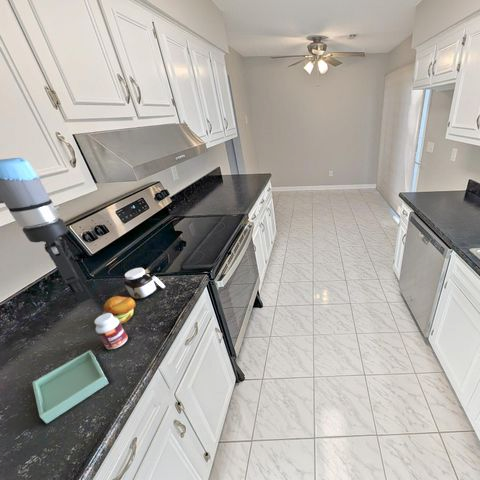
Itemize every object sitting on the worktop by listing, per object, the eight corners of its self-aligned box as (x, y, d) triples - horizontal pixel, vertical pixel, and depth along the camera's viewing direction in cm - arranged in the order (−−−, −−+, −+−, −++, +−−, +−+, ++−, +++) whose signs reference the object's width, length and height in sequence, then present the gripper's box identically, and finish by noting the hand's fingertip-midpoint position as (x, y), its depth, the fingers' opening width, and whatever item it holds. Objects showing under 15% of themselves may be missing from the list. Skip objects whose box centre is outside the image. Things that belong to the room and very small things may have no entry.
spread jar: (128, 298, 107) (116, 276, 102) (151, 282, 117) (141, 261, 111) (149, 302, 104) (138, 279, 98) (171, 286, 113) (162, 264, 108)
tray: (38, 388, 72) (32, 381, 71) (94, 356, 81) (90, 349, 80) (46, 423, 63) (39, 416, 62) (108, 383, 72) (104, 376, 71)
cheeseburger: (105, 315, 98) (101, 293, 95) (138, 310, 103) (136, 289, 100) (98, 332, 90) (94, 309, 87) (135, 326, 95) (132, 304, 92)
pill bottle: (115, 352, 82) (99, 327, 77) (101, 348, 84) (86, 323, 79) (132, 337, 87) (119, 313, 82) (120, 333, 89) (106, 310, 84)
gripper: (63, 230, 58) (105, 302, 67) (60, 208, 74) (93, 269, 84) (16, 242, 53) (68, 317, 63) (23, 216, 70) (64, 279, 79)
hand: (83, 290), depth 73 cm, fingers open, 13 cm apart
